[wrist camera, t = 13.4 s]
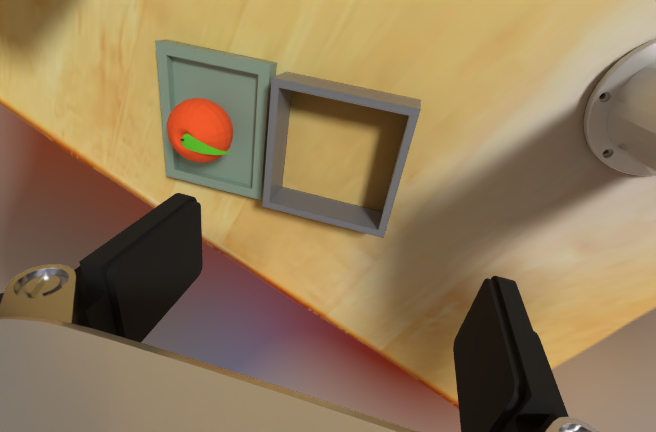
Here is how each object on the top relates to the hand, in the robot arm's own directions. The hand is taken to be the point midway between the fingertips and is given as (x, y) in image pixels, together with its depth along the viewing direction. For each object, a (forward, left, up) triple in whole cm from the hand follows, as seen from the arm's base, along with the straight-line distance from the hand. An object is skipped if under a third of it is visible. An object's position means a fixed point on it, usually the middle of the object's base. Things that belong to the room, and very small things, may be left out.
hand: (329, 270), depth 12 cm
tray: (+20, +7, -30) cm, 37 cm away
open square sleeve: (+5, +7, -30) cm, 31 cm away
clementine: (+19, +7, -30) cm, 36 cm away
